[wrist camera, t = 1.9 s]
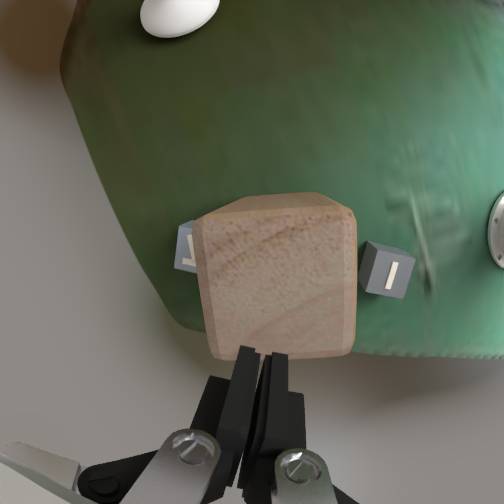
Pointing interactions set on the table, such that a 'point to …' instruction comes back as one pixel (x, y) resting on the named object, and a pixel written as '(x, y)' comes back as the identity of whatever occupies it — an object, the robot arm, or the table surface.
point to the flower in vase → (176, 16)
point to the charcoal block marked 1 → (385, 270)
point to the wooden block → (278, 276)
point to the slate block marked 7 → (185, 248)
